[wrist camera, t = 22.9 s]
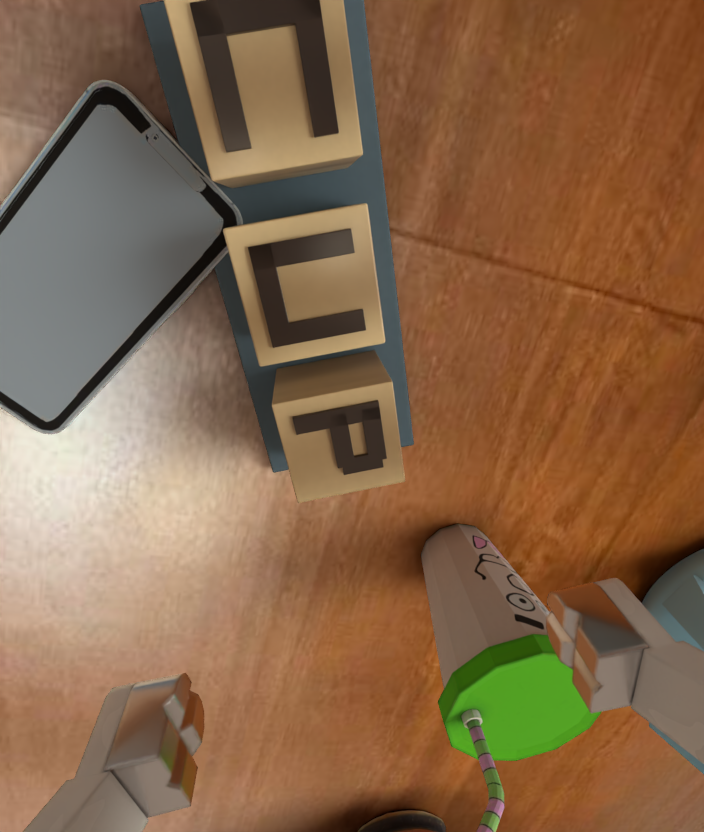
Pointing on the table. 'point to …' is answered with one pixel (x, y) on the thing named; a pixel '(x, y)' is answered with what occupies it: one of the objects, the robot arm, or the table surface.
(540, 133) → the table surface
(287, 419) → the tile
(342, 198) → the mat
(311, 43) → the tile
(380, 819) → the ceramic bowl
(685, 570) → the teapot
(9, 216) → the smartphone
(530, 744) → the cup
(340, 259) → the tile
